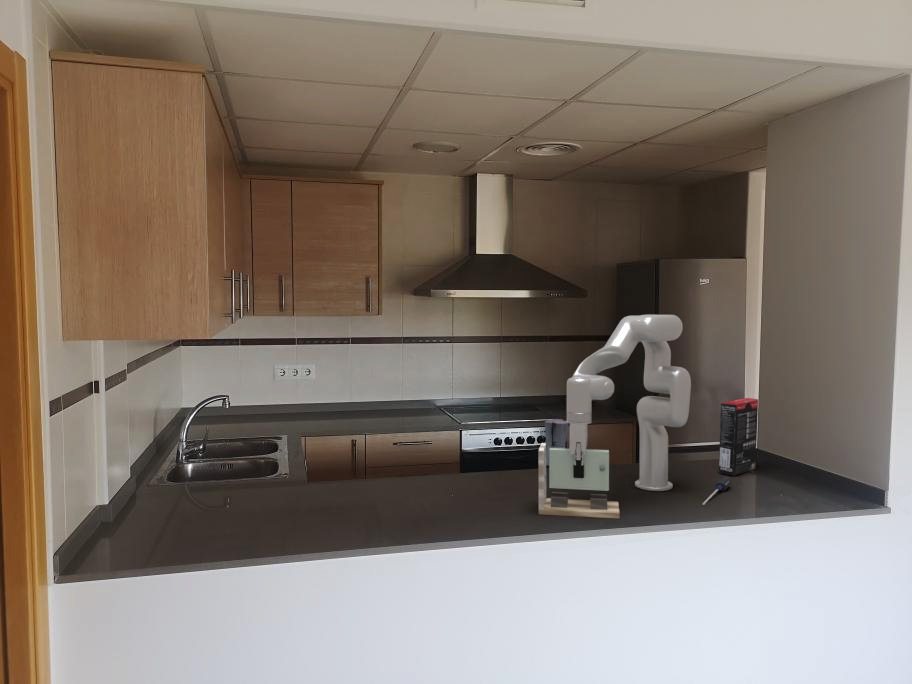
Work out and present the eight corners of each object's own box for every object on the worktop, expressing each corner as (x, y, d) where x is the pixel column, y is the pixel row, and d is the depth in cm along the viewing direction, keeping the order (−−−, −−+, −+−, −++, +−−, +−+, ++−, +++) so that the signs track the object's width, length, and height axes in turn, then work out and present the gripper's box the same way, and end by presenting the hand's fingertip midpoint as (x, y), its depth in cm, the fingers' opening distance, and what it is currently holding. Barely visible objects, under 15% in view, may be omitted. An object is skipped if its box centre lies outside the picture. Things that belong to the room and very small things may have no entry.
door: (549, 485, 207) (549, 448, 206) (608, 488, 203) (608, 450, 202) (549, 488, 203) (549, 450, 202) (608, 491, 199) (609, 452, 199)
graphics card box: (740, 466, 256) (741, 396, 255) (757, 469, 251) (759, 398, 249) (717, 473, 245) (718, 401, 244) (736, 477, 240) (737, 403, 238)
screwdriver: (708, 506, 207) (708, 494, 207) (696, 504, 209) (697, 492, 209) (732, 488, 227) (733, 477, 227) (721, 486, 230) (722, 475, 229)
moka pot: (570, 461, 267) (570, 412, 266) (566, 470, 252) (566, 419, 251) (546, 460, 270) (546, 411, 268) (541, 469, 255) (541, 418, 254)
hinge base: (541, 502, 212) (541, 442, 211) (618, 506, 208) (618, 445, 206) (538, 514, 201) (538, 451, 200) (619, 518, 196) (619, 453, 195)
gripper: (567, 413, 211) (567, 469, 212) (565, 421, 195) (565, 482, 196) (591, 413, 210) (591, 470, 211) (591, 422, 194) (591, 484, 195)
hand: (578, 476), depth 204 cm, fingers closed on door, 2 cm apart
